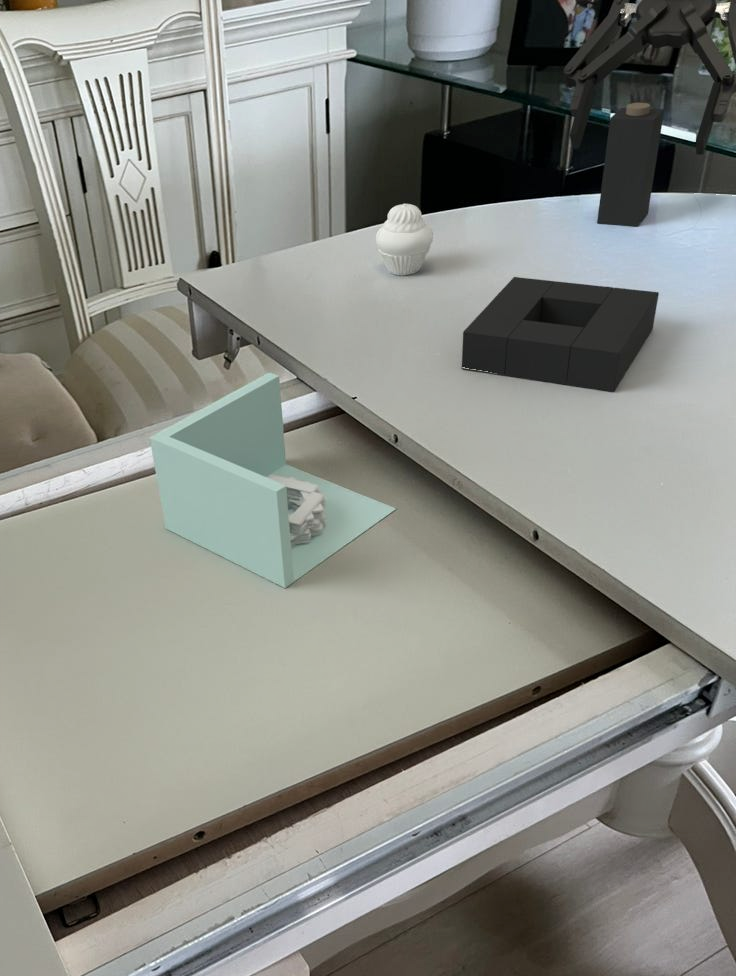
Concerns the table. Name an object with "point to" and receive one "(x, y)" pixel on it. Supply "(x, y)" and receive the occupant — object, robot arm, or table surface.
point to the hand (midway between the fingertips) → (635, 145)
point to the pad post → (630, 164)
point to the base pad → (560, 332)
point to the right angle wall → (253, 488)
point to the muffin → (404, 240)
